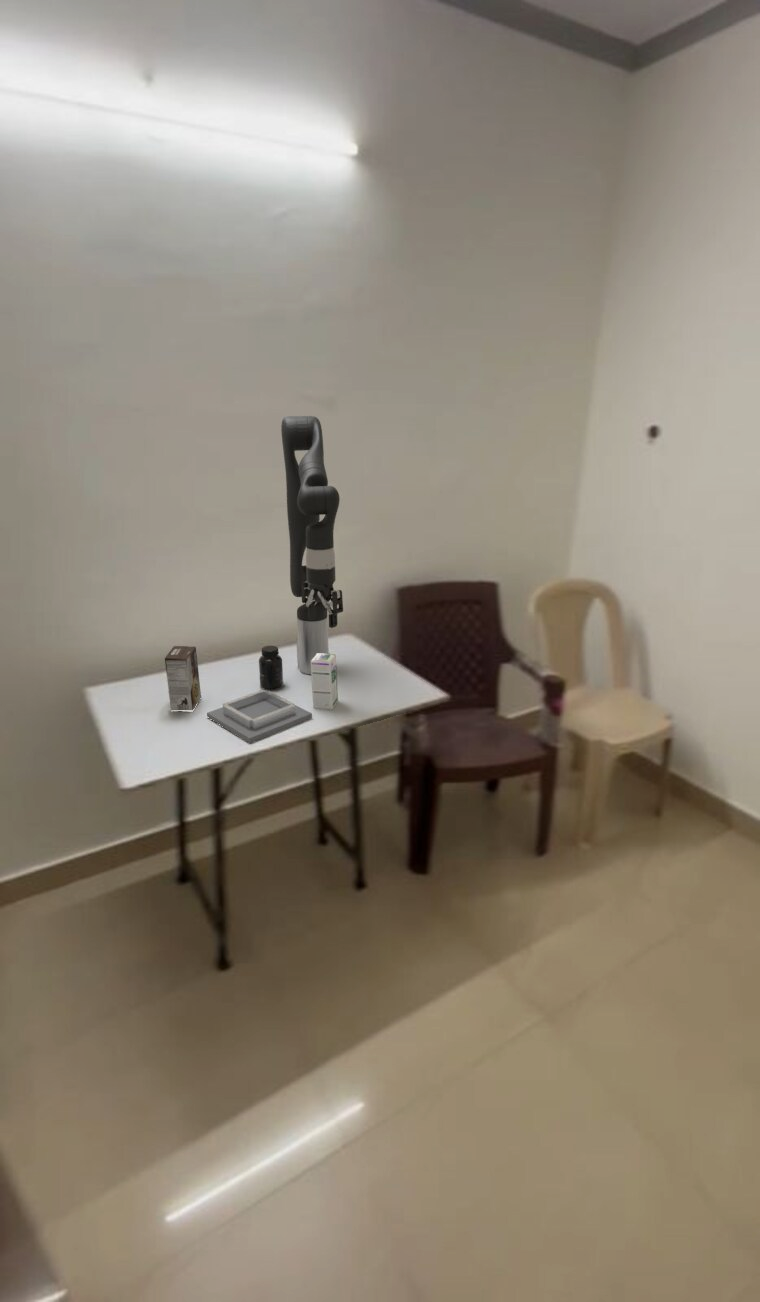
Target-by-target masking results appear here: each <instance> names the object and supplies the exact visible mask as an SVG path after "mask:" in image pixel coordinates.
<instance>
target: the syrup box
mask: <svg viewBox="0 0 760 1302" xmlns="http://www.w3.org/2000/svg"><path fill="white" fill-rule="evenodd" d="M310 675H311V688H312V689H311V691H312V707H313V708H314V709H320V710H334V708H335V706H337V705H336V704H337V703H338V701H339V696H338V671H337V656H336V653H317V654H316V655H315V656H314V657H313V659H312V660H311V674H310Z"/></svg>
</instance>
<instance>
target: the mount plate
mask: <svg viewBox="0 0 760 1302" xmlns="http://www.w3.org/2000/svg"><path fill="white" fill-rule="evenodd" d="M294 705H295V714H294V715H292V716H289V717H287V718H284V719H281V720H279V721H276V722H274V723H271V724H269V725H266V726H264V727H261V728H259V729H256V730H253V729H248V728H247V727H245V726H243V725H242V724H240V723H238V722H236V721H235V720H233V719H231V718H230V717H228V716H226V715H224V712H223V706H222V707H220V708H216V709H214V710H213V709H212V710H211V711H208V712H207V713H206V716H207V717H209V718H210V719H212V720H214V721H215V722H217V723H218V724H217V723H216V724H217V725H219V724H220V725H221V727H222V726H223V727H224V729H225V728H226V729H225V730H227V731H228V730H229V731H228V732H230V731H231V732H230V733H232V734H233V733H234V735H235V734H236V735H235V736H237V735H238V736H240V737H241V738H240V737H239V738H240V739H242V738H243V739H244V740H243V739H242V740H243V741H245V742H247V743H248V742H249V744H252V742H253V743H254V741H255V742H258V741H260V740H262V738H263V739H264V738H268V737H269V736H273V735H275V734H277V733H279V732H282V731H285V730H286V729H289V728H292V727H294V726H297V725H300V724H301V723H304V722H307V721H309V720H311V719H313V714H312V712H310V711H309V710H306V709H304V708H302V707H300V706H298V705H296V704H294ZM278 709H281V708H280V707H278V706H276V705H274V704H272V703H270V702H268V701H266V700H262V701H259V702H257V703H254V704H251V705H248V706H246V707H243V708H240V709H237V710H238V711H240V712H241V713H243V714H245V715H247V716H248V717H250V718H252V719H255V718H257V717H260V716H262V715H265V714H268V713H270V712H273V711H276V710H278ZM209 718H208V719H209ZM210 719H209V720H210ZM212 720H211V721H212ZM214 721H213V722H214ZM215 722H214V723H215ZM220 725H219V726H220ZM223 727H222V728H223ZM238 736H237V737H238Z"/></svg>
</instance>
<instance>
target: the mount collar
mask: <svg viewBox="0 0 760 1302" xmlns="http://www.w3.org/2000/svg"><path fill="white" fill-rule="evenodd" d="M262 700H266V701H268V702H270V703H272V704H274V705H276V706H278V707H280V708H281V709H278V710H276V711H273V712H270V713H268V714H265V715H262V716H260V717H257V718H255V719H252V718H250V717H248V716H247V715H245V714H243V713H241V712H240V711H238V710H237V709H240V708H243V707H246V706H248V705H251V704H254V703H257V702H259V701H262ZM295 705H296V704H295V703H294V702H293V701H290V700H289V699H286V698H284V697H282V696H280V695H278V694H276V693H274V692H272V691H271V690H266V689H261V690H258V691H256V692H255V691H254V692H253V693H250V694H246V695H244V696H240V697H239V698H236V699H235V698H234V699H233V700H230V701H227V702H224V703H222V707H223V712H224V715H226V716H228V717H230V718H231V719H233V720H235V721H236V722H238V723H240V724H242V725H243V726H245V727H247V728H248V729H253V730H256V729H259V728H261V727H264V726H266V725H269V724H271V723H274V722H276V721H279V720H281V719H284V718H287V717H289V716H292V715H294V714H295Z"/></svg>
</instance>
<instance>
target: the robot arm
mask: <svg viewBox="0 0 760 1302" xmlns="http://www.w3.org/2000/svg"><path fill="white" fill-rule="evenodd" d="M280 427H281V439H282V440H281V441H282V443H281V444H282V449H283V450H282V451H283V458H284V459H283V460H284V469H285V478H286V479H285V482H286V483H285V484H286V509H287V510H286V511H287V513H286V514H287V523H288V533H289V534H288V535H289V536H288V537H289V563H290V564H289V578H290V579H289V580H290V581H289V582H290V589H291V593H292V595H293V596H294V597H296V598H301V603H302V605H300V606H298V607H297V610H296V620H297V638H296V657H297V658H296V659H297V668H298V669H299V671H300V673H303V674H305V675H311V660H312V659H313V657H314V656H315V655H316V654H317V653H329V651H330V650H329V628H330V629H333V628H336V627H337V626H338V614H340V613H343V612H344V604H343V603H344V601H343V591H342V589H338V590H337V589H336V590H335V589H334V588H335V587H334V583H335V582H336V554H335V548H334V529H335V522H336V518H337V514H338V510H339V506H340V500H341V499H340V494H339V491H338V489H337V488H336V487H335V486H332V485H329V480H328V475H327V471H326V468H325V460H324V459H325V458H324V457H325V456H324V454H325V453H324V438H323V437H324V436H323V430H322V423H321V421H320V420H319V418H318V417H316V416H312V415H307V416H306V415H298V416H297V415H295V416H294V415H292V416H284V417H283V418H282V421H281V426H280ZM297 451H298V452H300V451H301V452H303V451H307V452H306V453H305V454H304V455H303V457H302V458H301V460H300V461H299V463H298V460H297V458H296V452H297ZM322 515H324V516H323V518H322V519H321V518H320V516H322ZM320 519H321V520H320ZM305 551H306V552H305ZM304 554H305V565H303V560H304ZM329 654H330V653H329Z"/></svg>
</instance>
